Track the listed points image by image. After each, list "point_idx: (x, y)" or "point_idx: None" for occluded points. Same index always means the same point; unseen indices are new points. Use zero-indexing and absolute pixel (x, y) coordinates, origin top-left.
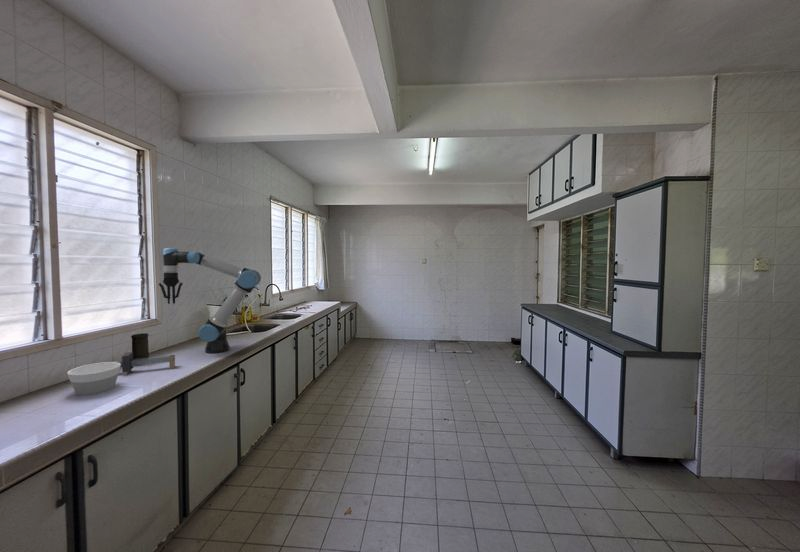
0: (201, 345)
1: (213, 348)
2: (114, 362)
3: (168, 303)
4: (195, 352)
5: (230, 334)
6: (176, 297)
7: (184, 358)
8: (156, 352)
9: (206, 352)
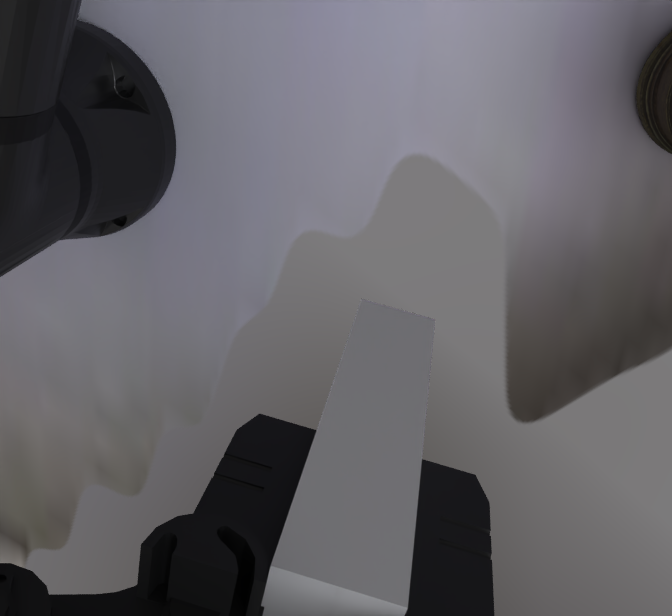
0: (196, 387)
1: (83, 41)
2: None
3: (464, 480)
4: (250, 185)
5: (9, 558)
6: (37, 577)
7: (353, 13)
8: (517, 395)
9: (164, 98)
